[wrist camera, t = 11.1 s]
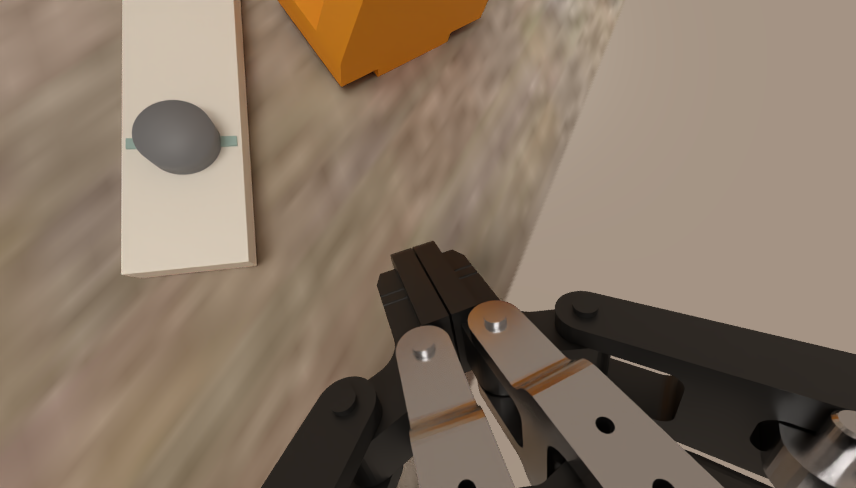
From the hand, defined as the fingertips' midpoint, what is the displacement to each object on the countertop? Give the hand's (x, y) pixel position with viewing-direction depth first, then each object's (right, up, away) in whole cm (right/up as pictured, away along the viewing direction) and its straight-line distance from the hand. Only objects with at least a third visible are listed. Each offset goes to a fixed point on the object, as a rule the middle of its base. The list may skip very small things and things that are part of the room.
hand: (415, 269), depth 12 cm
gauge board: (-12, +11, +7) cm, 18 cm away
